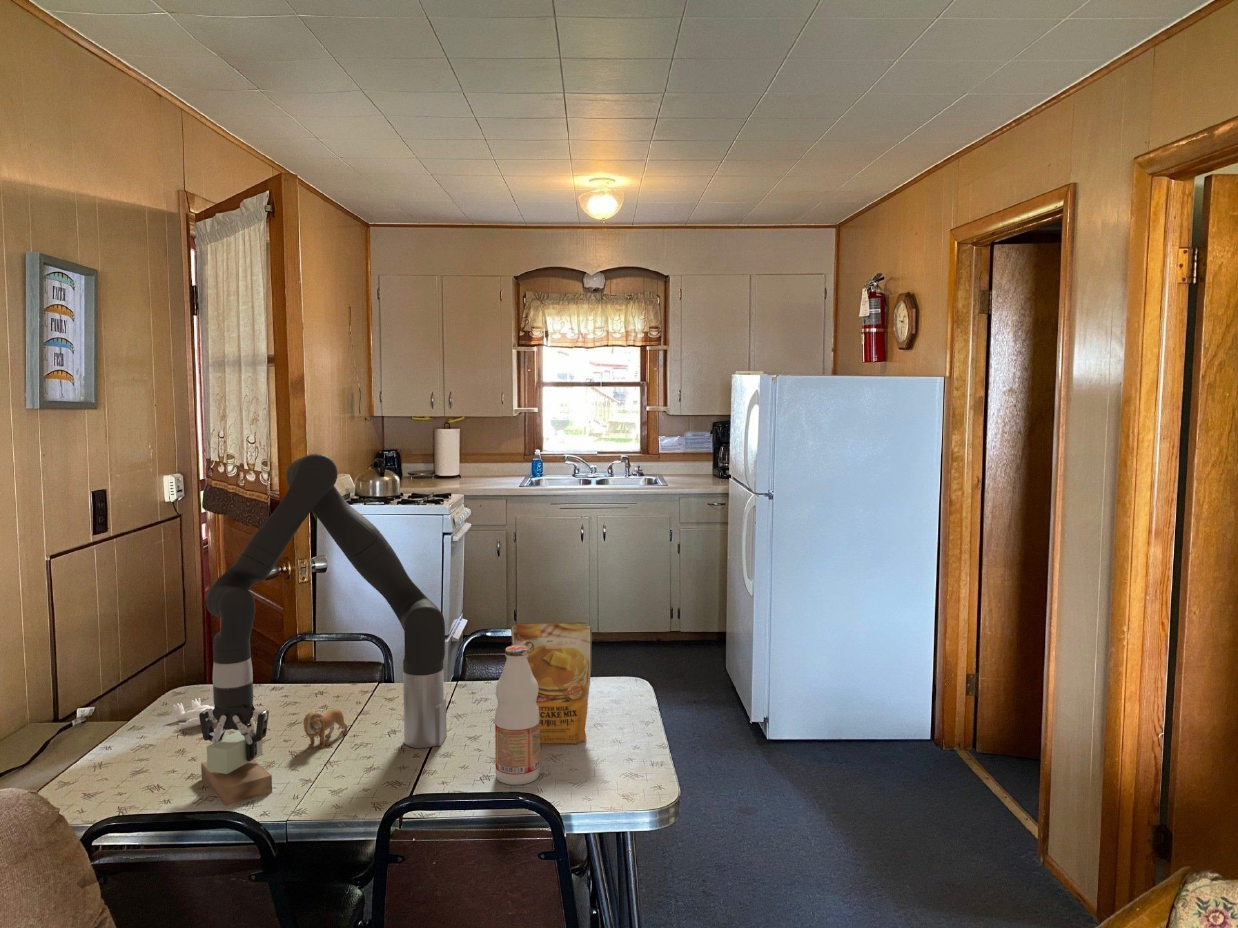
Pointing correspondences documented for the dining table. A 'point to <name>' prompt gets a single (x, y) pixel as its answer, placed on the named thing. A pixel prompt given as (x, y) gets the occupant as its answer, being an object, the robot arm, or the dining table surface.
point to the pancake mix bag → (559, 677)
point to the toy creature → (191, 714)
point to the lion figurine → (323, 725)
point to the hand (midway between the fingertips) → (235, 759)
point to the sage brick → (229, 753)
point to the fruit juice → (517, 720)
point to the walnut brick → (238, 782)
